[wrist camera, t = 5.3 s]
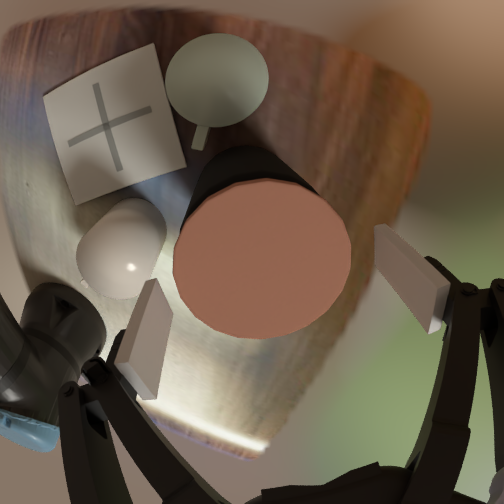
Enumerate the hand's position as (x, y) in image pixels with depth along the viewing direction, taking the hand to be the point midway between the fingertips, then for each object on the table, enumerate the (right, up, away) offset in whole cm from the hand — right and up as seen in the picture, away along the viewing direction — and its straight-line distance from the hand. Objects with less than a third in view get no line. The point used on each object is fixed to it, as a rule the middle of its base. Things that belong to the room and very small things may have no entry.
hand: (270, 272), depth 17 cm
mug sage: (-5, +17, +11) cm, 21 cm away
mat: (-17, +15, +11) cm, 25 cm away
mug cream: (-16, +3, +17) cm, 24 cm away
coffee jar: (-2, +8, +16) cm, 18 cm away
